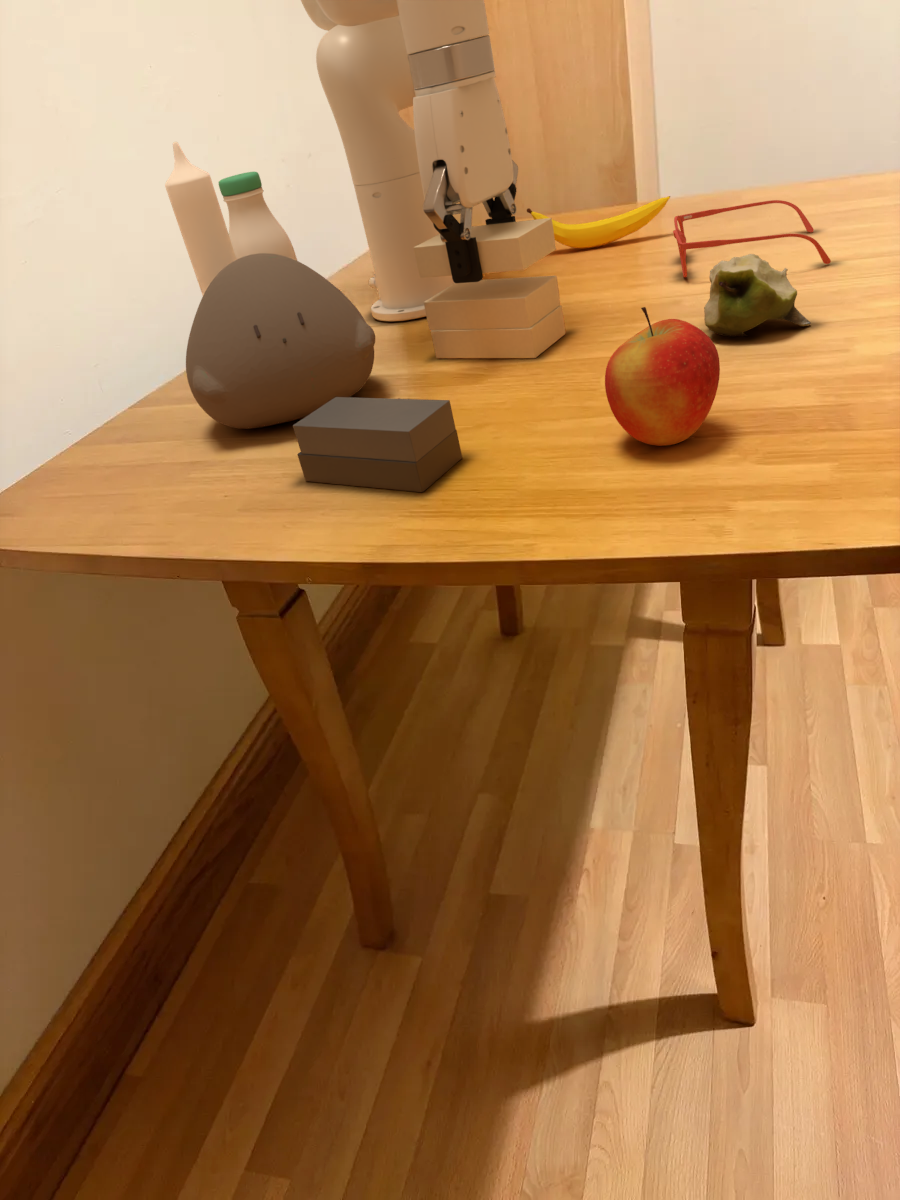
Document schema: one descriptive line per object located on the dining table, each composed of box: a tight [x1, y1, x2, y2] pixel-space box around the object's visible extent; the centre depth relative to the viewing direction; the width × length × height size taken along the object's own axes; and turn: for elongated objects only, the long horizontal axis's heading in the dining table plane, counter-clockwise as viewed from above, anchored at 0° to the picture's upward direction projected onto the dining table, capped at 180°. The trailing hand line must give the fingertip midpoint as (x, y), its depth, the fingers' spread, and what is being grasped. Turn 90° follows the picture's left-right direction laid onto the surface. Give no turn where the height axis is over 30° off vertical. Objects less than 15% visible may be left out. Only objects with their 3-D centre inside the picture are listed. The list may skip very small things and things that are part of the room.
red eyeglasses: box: [672, 199, 832, 278], centre depth 102 cm, size 17×16×5 cm
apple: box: [604, 306, 721, 447], centre depth 65 cm, size 8×8×10 cm
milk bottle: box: [218, 171, 298, 261], centre depth 104 cm, size 8×8×20 cm
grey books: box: [292, 396, 463, 493], centre depth 72 cm, size 12×6×5 cm, turn 58°
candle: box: [164, 141, 237, 296], centre depth 93 cm, size 7×7×25 cm
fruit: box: [703, 253, 812, 338], centre depth 82 cm, size 9×9×8 cm
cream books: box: [424, 275, 566, 359], centre depth 93 cm, size 12×7×6 cm, turn 58°
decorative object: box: [185, 253, 376, 430], centre depth 87 cm, size 18×18×15 cm
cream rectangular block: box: [414, 217, 557, 278], centre depth 89 cm, size 12×7×3 cm, turn 58°
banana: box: [526, 195, 671, 250], centre depth 121 cm, size 3×19×6 cm, turn 76°
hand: (487, 268), depth 90 cm, fingers closed on cream rectangular block, 7 cm apart
